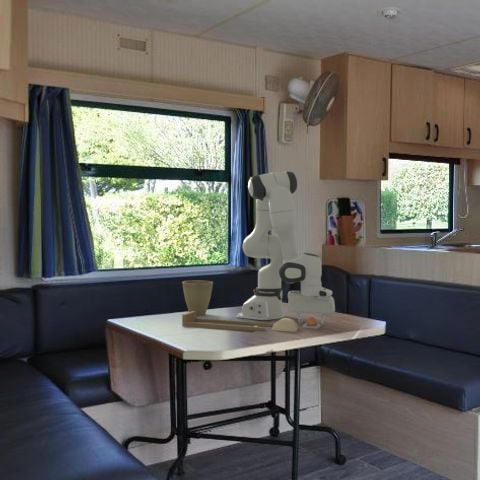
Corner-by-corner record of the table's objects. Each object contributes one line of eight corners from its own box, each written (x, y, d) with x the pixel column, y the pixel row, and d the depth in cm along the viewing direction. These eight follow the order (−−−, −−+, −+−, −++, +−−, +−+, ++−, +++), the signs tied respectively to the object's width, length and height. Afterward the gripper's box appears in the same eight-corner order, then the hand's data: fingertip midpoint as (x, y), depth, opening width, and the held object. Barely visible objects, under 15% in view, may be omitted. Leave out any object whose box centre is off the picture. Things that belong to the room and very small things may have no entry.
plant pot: (178, 316, 282) (178, 283, 282) (187, 311, 297) (187, 279, 296) (208, 317, 279) (208, 284, 278) (216, 312, 294) (216, 280, 293)
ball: (306, 327, 253) (306, 317, 253) (308, 325, 257) (308, 316, 256) (315, 327, 251) (315, 318, 251) (317, 326, 255) (317, 317, 255)
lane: (182, 337, 258) (182, 314, 258) (193, 332, 269) (192, 310, 268) (293, 346, 241) (293, 322, 241) (299, 341, 251) (300, 317, 251)
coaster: (301, 329, 252) (301, 325, 252) (305, 326, 258) (305, 322, 258) (317, 330, 249) (317, 326, 249) (321, 327, 256) (321, 323, 256)
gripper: (285, 290, 254) (285, 322, 254) (332, 293, 246) (332, 326, 247) (289, 289, 260) (289, 320, 260) (335, 291, 252) (335, 323, 253)
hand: (310, 323), depth 253 cm, fingers open, 8 cm apart
